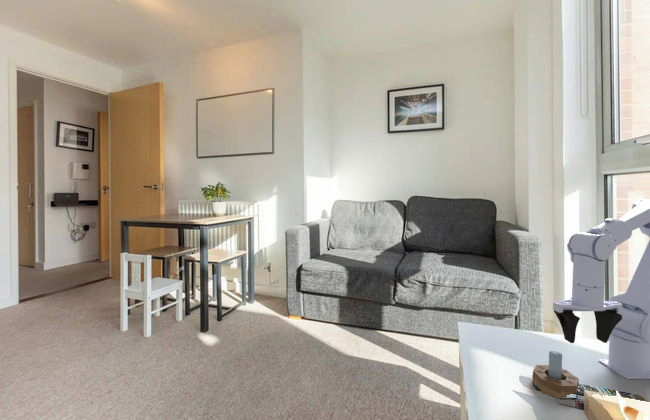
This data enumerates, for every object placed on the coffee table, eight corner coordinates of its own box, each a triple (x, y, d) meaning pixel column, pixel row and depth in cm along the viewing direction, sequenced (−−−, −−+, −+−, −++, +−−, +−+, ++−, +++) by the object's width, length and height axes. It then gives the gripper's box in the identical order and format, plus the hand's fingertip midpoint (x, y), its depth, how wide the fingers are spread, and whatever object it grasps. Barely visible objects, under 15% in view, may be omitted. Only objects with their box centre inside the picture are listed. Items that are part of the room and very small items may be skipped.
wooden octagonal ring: (559, 376, 76) (560, 364, 75) (586, 399, 68) (587, 385, 67) (526, 377, 76) (526, 365, 76) (549, 399, 68) (549, 385, 68)
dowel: (556, 384, 73) (557, 350, 72) (563, 390, 70) (564, 356, 70) (545, 384, 73) (546, 351, 72) (553, 390, 70) (554, 356, 70)
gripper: (604, 279, 77) (601, 332, 78) (544, 279, 77) (543, 333, 78) (632, 288, 70) (629, 347, 71) (566, 288, 70) (564, 347, 71)
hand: (585, 340), depth 74 cm, fingers open, 7 cm apart
